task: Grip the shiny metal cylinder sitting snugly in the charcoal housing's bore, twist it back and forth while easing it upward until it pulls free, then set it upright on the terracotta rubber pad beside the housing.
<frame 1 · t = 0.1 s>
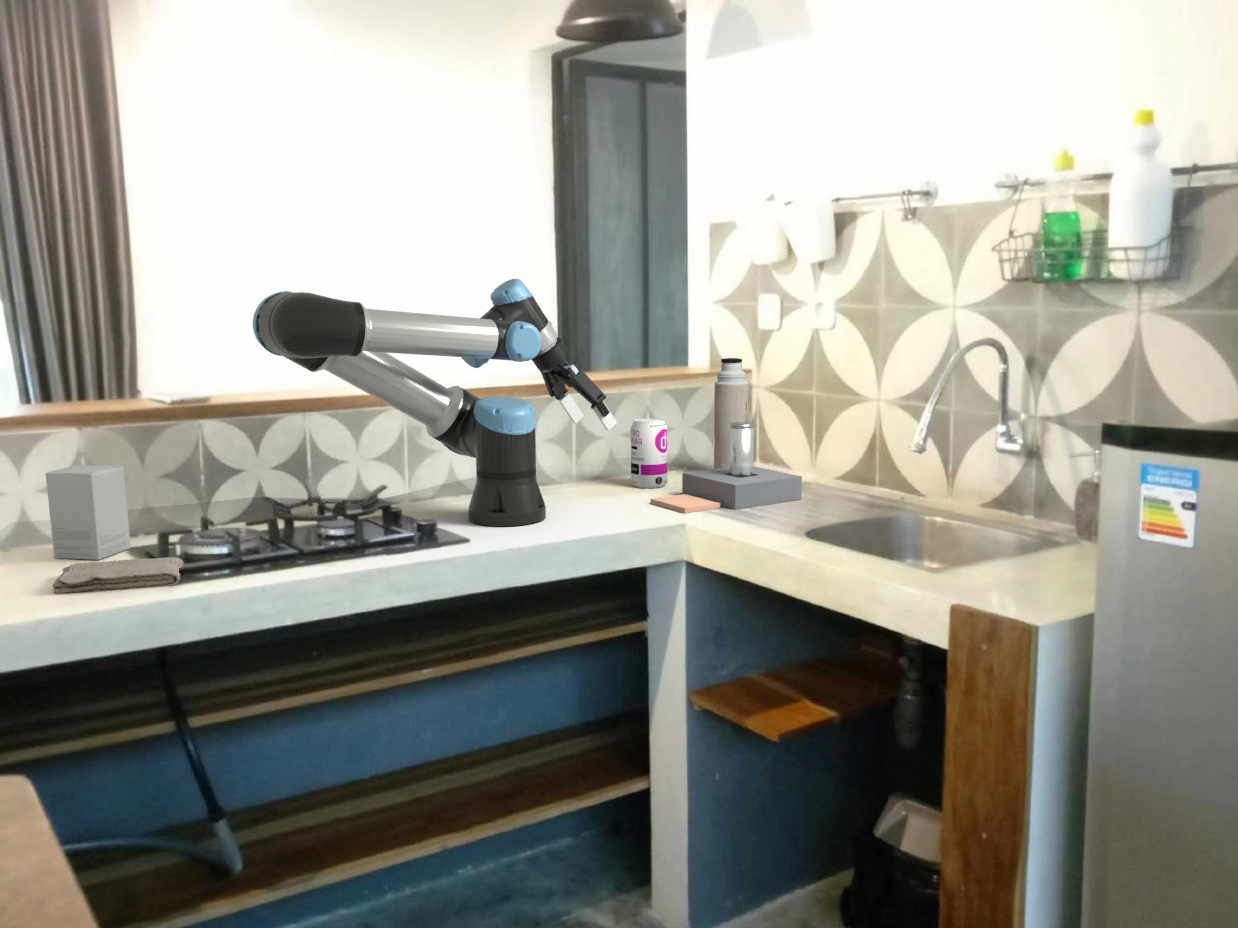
hand: (595, 423, 238), 15 cm above the counter, tool tilted 35°, fingers open, 13 cm apart
thermos bottle: (730, 476, 260), on the counter
supplement can: (649, 486, 248), on the counter
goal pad: (685, 505, 225), on the counter
supplement box: (93, 554, 188), on the counter
housing: (741, 497, 233), on the counter
shiny metal cylinder: (741, 460, 232), in the housing
washcloth: (121, 585, 171), on the counter
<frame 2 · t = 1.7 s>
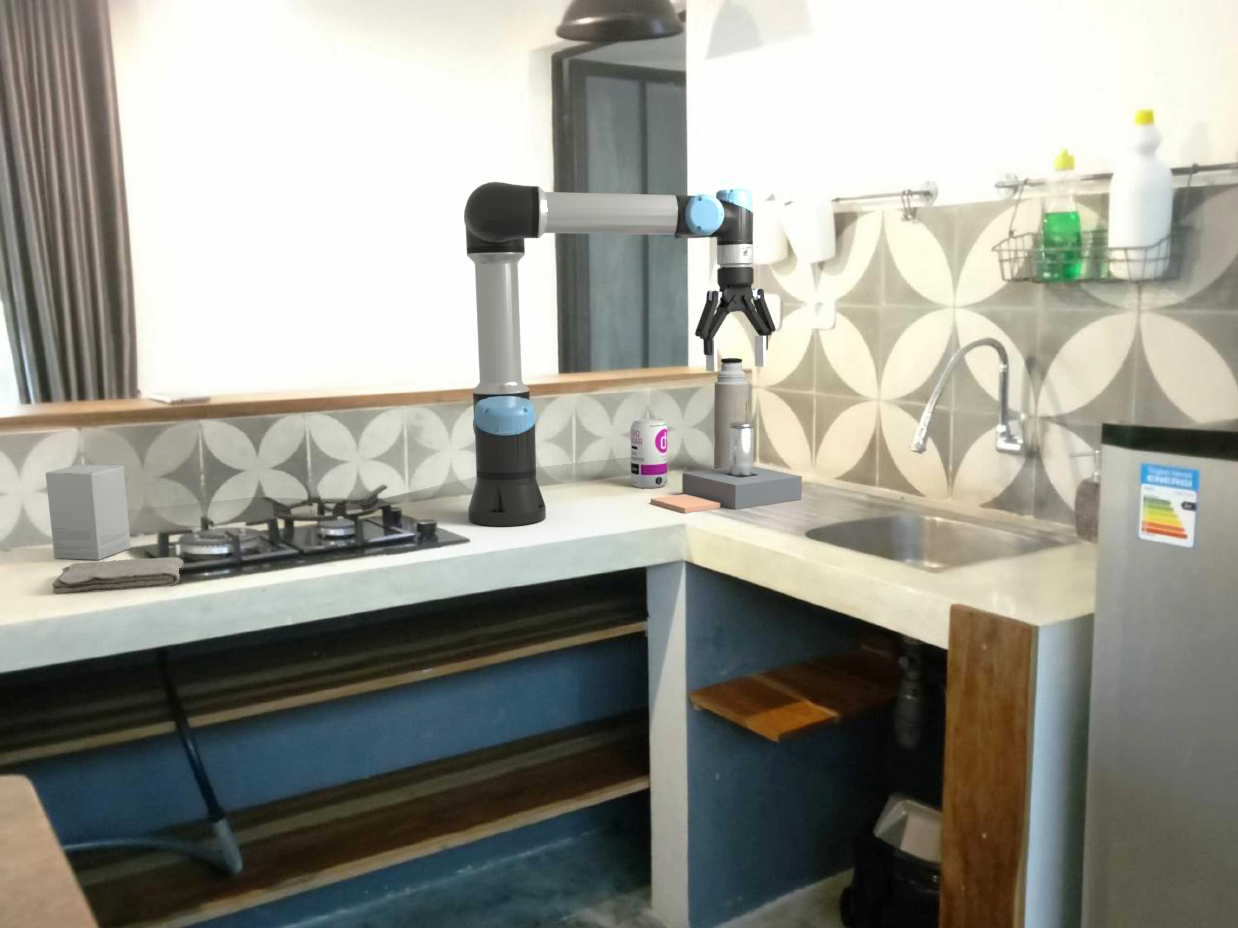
hand: (736, 368, 230), 28 cm above the counter, tool pointing down, fingers open, 13 cm apart
nothing on the counter moved.
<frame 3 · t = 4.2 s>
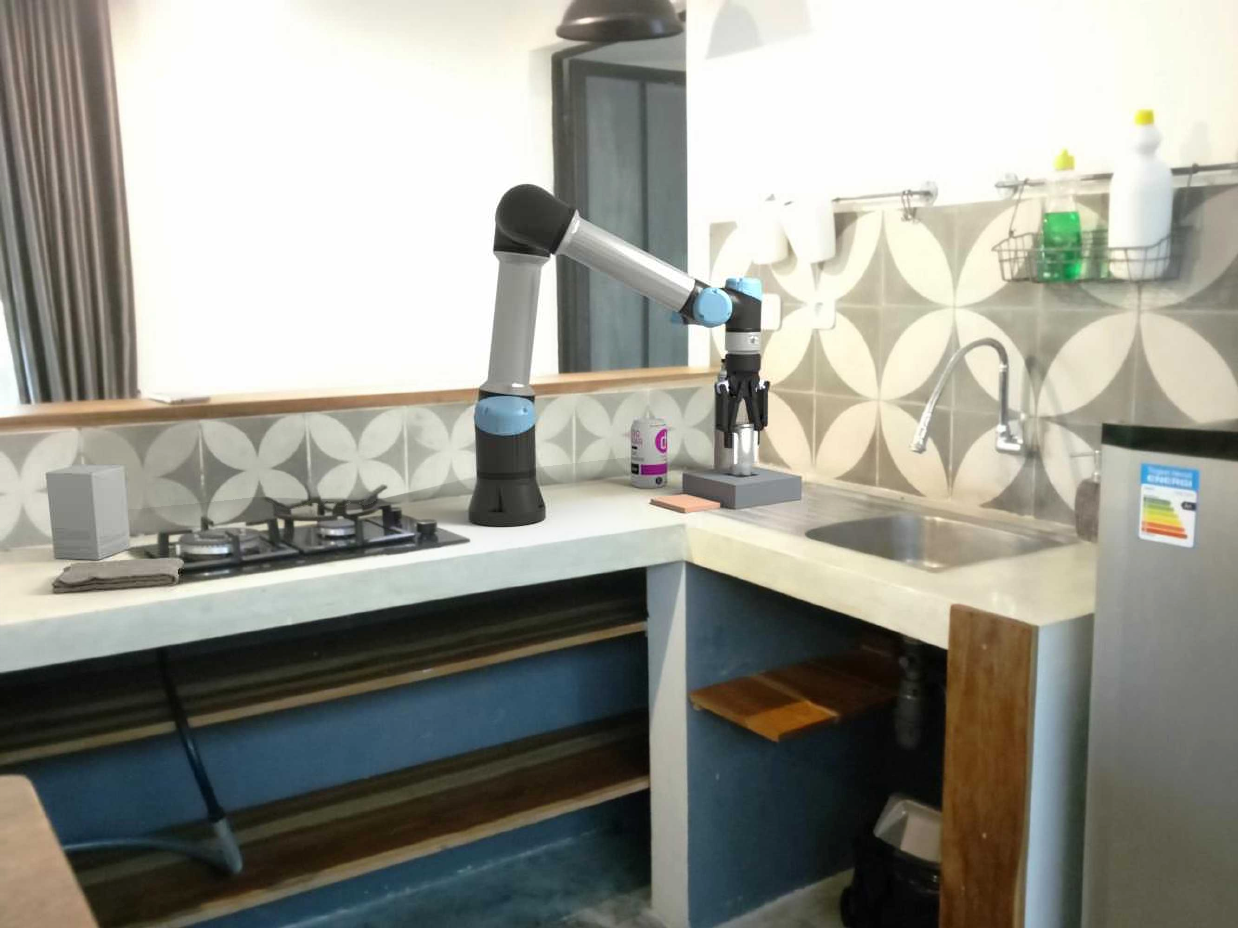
hand: (741, 461, 232), 8 cm above the counter, tool pointing down, fingers closed on shiny metal cylinder, 5 cm apart
shiny metal cylinder: (741, 460, 232), in the housing, touching gripper
everything else where it was.
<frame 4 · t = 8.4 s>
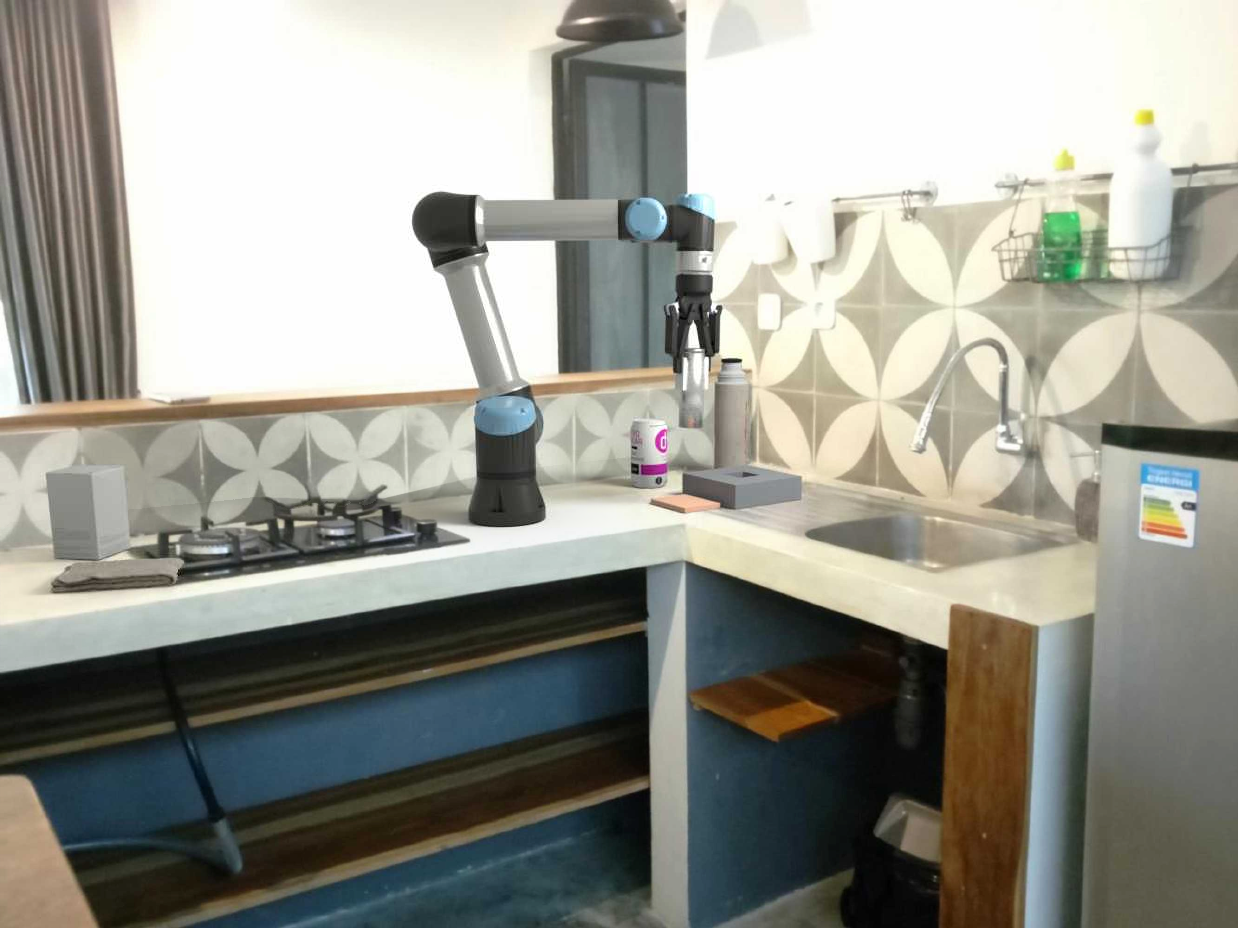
hand: (691, 388, 223), 24 cm above the counter, tool pointing down, fingers closed on shiny metal cylinder, 5 cm apart
shiny metal cylinder: (691, 387, 223), point 24 cm above the counter, touching gripper
everything else where it was.
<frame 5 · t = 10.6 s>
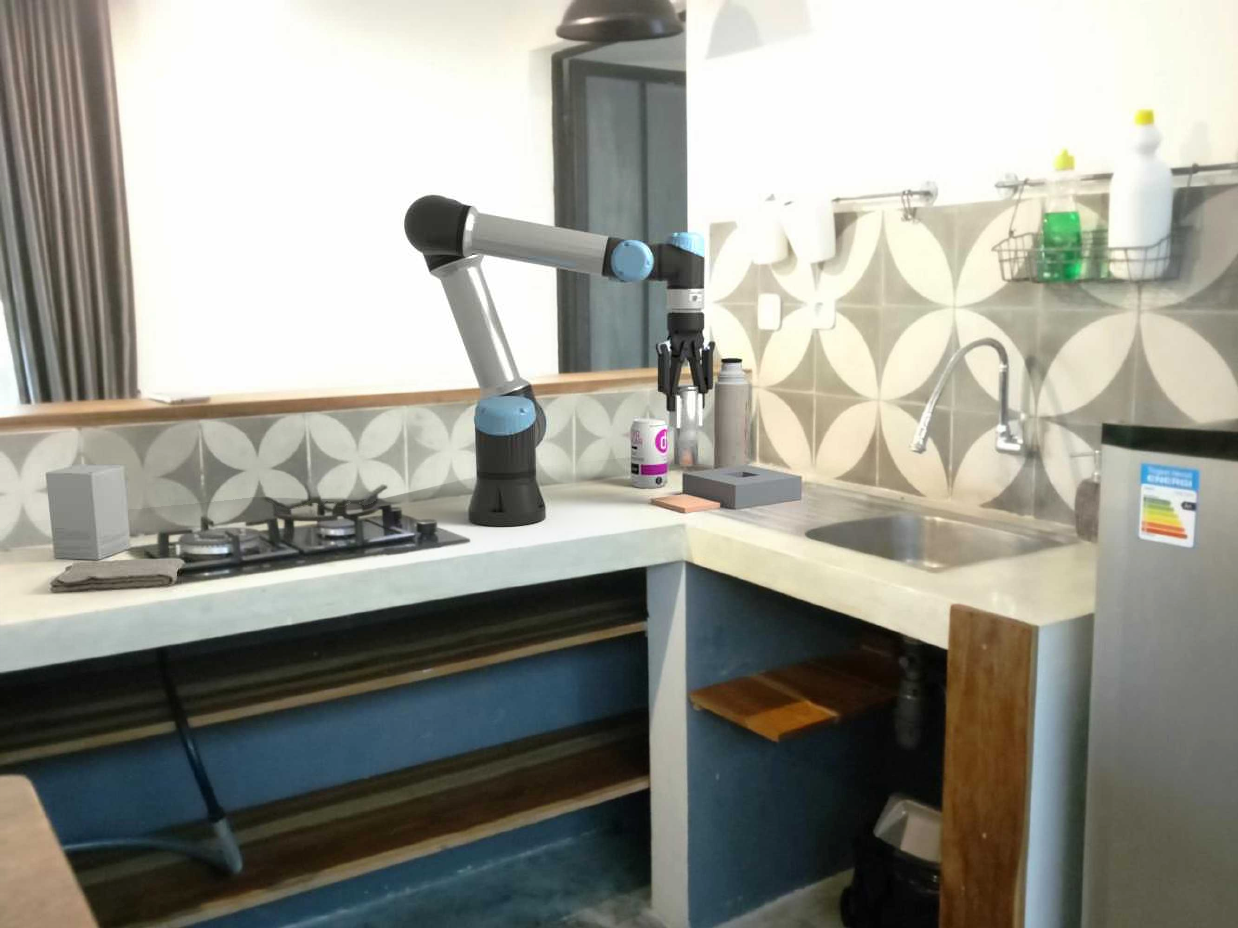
hand: (685, 426, 223), 17 cm above the counter, tool pointing down, fingers closed on shiny metal cylinder, 5 cm apart
shiny metal cylinder: (685, 425, 223), point 17 cm above the counter, touching gripper
everything else where it was.
when the fingers open (10 cm above the counter, at t = 12.5 s): shiny metal cylinder stays where it is, resting on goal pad.
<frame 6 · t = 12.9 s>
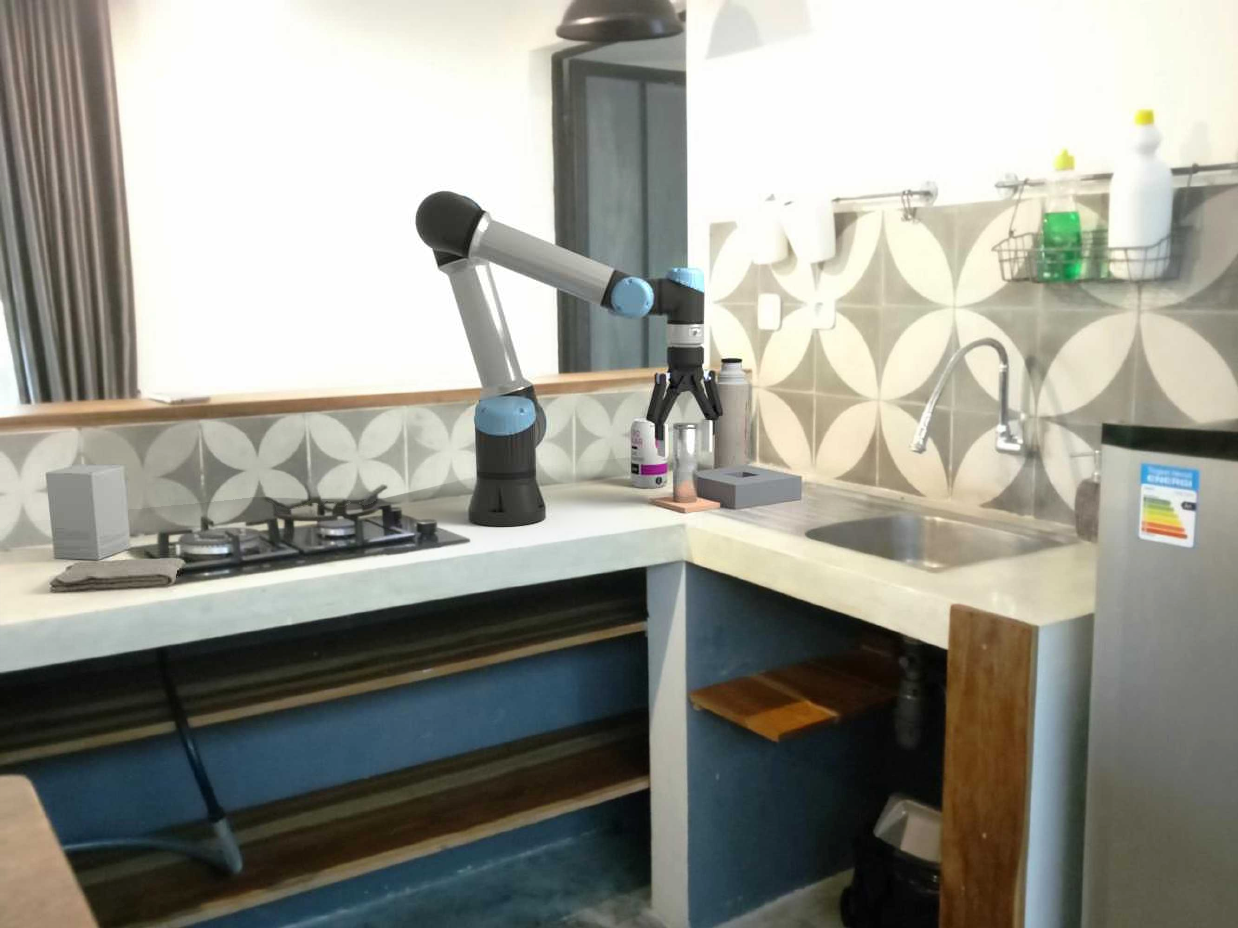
hand: (685, 453, 223), 11 cm above the counter, tool pointing down, fingers open, 10 cm apart
shiny metal cylinder: (685, 462, 224), on the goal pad, point 9 cm above the counter
everything else where it was.
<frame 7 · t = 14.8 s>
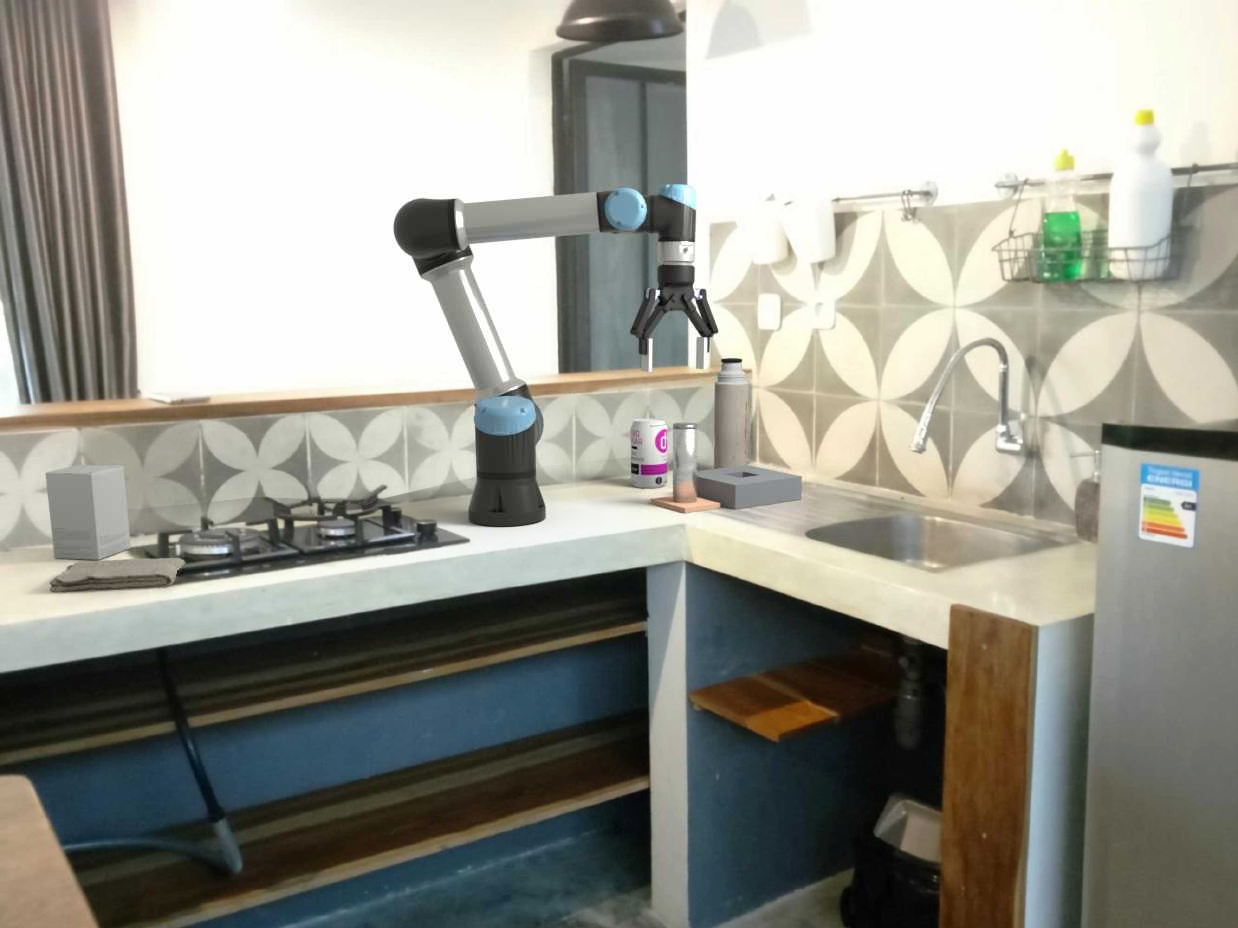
hand: (674, 370, 222), 28 cm above the counter, tool pointing down, fingers open, 13 cm apart
nothing on the counter moved.
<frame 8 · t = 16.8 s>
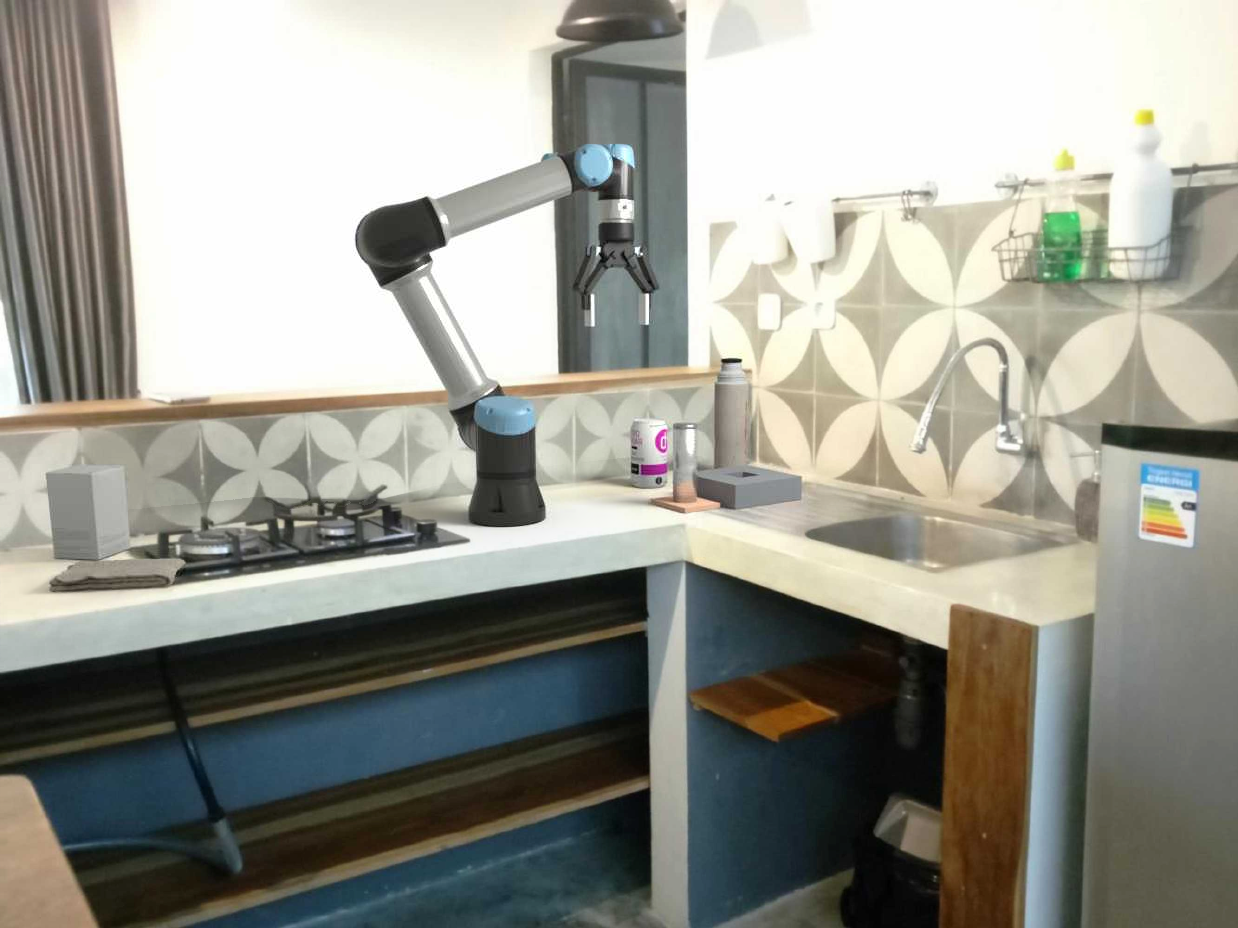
hand: (617, 325, 229), 37 cm above the counter, tool pointing down, fingers open, 13 cm apart
nothing on the counter moved.
at the end: shiny metal cylinder inside the target area on the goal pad (0.0 cm from its centre), point 9.0 cm above the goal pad's base; shiny metal cylinder tilted 0°; shiny metal cylinder moved 15.1 cm from its start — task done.
